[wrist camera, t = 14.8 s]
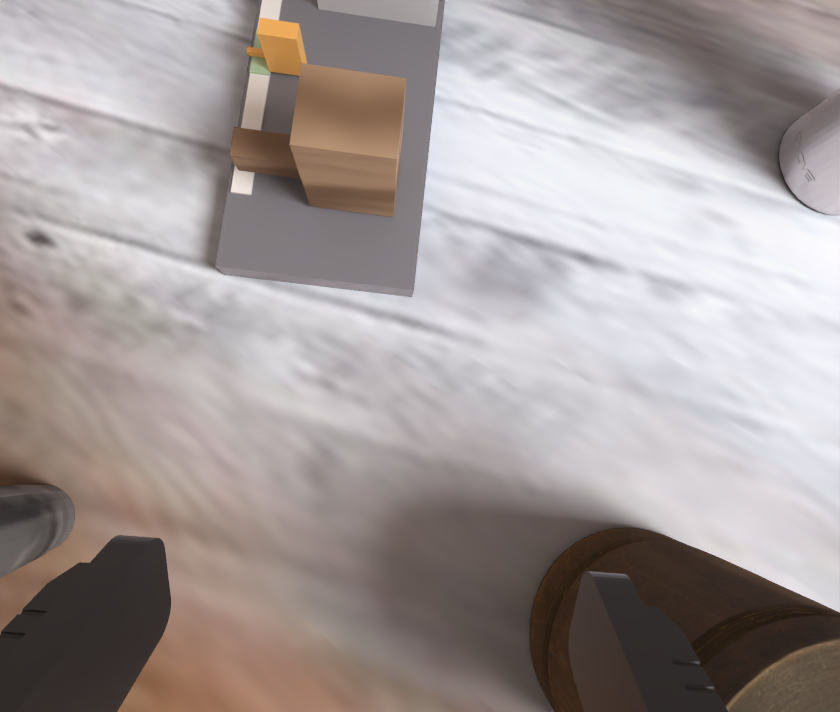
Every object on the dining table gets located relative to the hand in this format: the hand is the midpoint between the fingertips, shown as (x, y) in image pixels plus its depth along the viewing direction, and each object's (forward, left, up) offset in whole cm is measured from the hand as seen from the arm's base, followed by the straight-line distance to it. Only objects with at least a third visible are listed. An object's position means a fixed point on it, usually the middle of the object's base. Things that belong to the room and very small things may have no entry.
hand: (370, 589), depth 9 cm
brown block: (+1, -21, -24) cm, 32 cm away
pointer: (+3, -30, -24) cm, 39 cm away
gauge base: (-1, -26, -26) cm, 37 cm away
